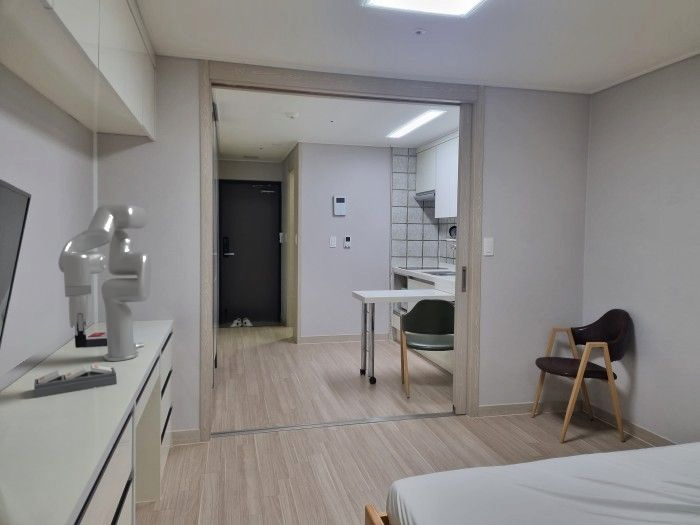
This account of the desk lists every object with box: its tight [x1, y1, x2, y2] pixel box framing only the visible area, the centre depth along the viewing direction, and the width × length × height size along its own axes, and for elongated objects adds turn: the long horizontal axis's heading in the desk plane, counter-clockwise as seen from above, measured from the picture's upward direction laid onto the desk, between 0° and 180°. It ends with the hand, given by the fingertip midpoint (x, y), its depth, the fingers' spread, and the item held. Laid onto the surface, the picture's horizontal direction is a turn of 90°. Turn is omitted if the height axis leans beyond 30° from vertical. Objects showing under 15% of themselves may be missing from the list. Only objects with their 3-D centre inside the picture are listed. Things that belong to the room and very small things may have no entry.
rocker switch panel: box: [33, 367, 118, 398], centre depth 162 cm, size 23×9×4 cm, turn 122°
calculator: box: [85, 331, 107, 348], centre depth 221 cm, size 11×4×15 cm
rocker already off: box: [90, 364, 112, 374], centre depth 165 cm, size 6×4×1 cm
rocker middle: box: [64, 365, 88, 380], centre depth 161 cm, size 6×4×1 cm
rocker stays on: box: [37, 369, 61, 384], centre depth 157 cm, size 6×4×1 cm
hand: (81, 346), depth 161 cm, fingers closed
